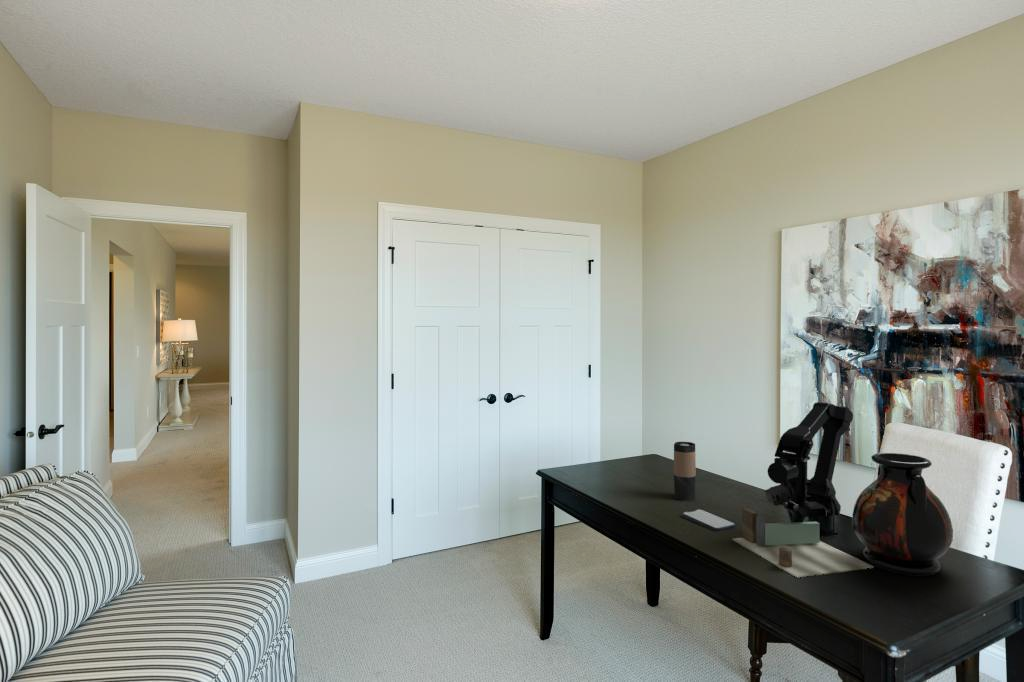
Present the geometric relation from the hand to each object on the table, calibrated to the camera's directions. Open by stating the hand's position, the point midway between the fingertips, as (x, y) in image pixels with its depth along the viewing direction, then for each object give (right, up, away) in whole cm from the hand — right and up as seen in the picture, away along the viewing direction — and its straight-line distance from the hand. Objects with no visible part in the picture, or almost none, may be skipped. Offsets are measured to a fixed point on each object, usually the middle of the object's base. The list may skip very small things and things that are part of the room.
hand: (795, 530), depth 162 cm
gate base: (-3, -4, -7) cm, 9 cm away
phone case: (-19, -4, +19) cm, 27 cm away
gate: (-4, -3, -3) cm, 5 cm away
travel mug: (-19, -3, +43) cm, 47 cm away
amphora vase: (+19, -4, -15) cm, 25 cm away
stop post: (-11, -4, -16) cm, 20 cm away
